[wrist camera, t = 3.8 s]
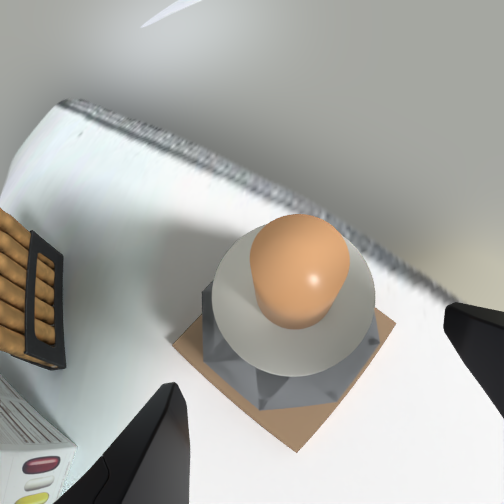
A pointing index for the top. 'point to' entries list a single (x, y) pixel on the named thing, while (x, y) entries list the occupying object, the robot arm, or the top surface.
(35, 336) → the ammunition clip
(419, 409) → the top surface
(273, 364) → the pump plunger
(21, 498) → the supplement box
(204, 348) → the pump canister
